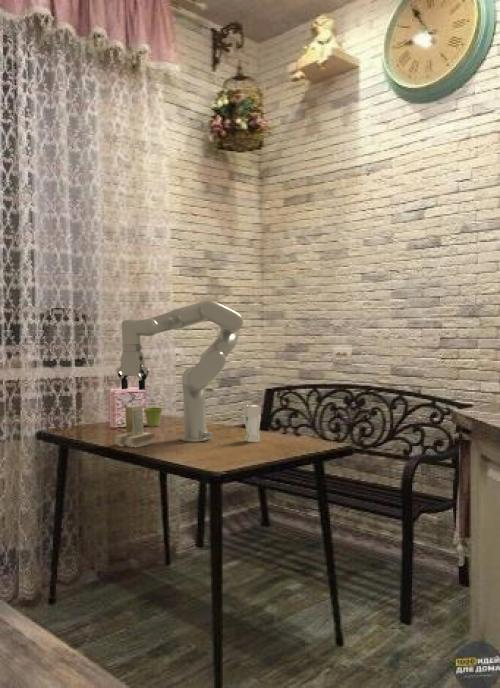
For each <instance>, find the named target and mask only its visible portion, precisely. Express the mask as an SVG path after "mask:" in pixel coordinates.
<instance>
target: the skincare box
mask: <svg viewBox="0 0 500 688" xmlns="http://www.w3.org/2000/svg"><path fill="white" fill-rule="evenodd" d="M143 410H144V409H143V405H140V404H138V405H137V404H133V405H129V406H125V408H124V411H125V429H126V430H125V431H126V432H125V433H126V434H127V435H129V436H136V435H140V434H144V415H143Z"/></svg>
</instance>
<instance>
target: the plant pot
mask: <svg viewBox="0 0 500 688" xmlns="http://www.w3.org/2000/svg"><path fill="white" fill-rule="evenodd" d="M143 410H144V413H145V418H146V425H147V427H151V428H154V427H160V425H161V416H162V411H163V407H158V406H157V407H156V406H155V407H145V408H143Z"/></svg>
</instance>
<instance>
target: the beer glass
mask: <svg viewBox="0 0 500 688" xmlns="http://www.w3.org/2000/svg"><path fill="white" fill-rule="evenodd" d="M260 406H261V405H260V404H247V405H245V404H244V406H243V407H244V409H243V419H244V425H245V430H246V436H245V442H247V443H258V442H260V441H261V438H260V437H261V436H260V425H261V407H260Z"/></svg>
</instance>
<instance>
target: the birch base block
mask: <svg viewBox="0 0 500 688" xmlns="http://www.w3.org/2000/svg"><path fill="white" fill-rule="evenodd" d="M155 442H156V441H155V433H154V432H144V434H140V435H136V436H129V435H127V434H126V432H125V433H121V434H118V435H116V434H115V435H113V446H114V445H119V446H118V447H123V446H127V447H126V448H132V447H135V448H134V449H137V448H140V447H143V446H149V445H151V444H155ZM136 447H137V448H136Z"/></svg>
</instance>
